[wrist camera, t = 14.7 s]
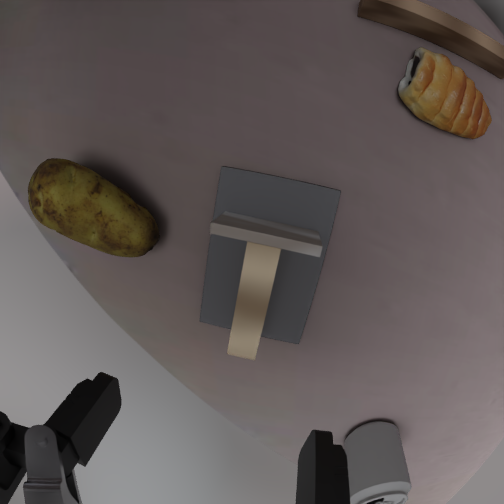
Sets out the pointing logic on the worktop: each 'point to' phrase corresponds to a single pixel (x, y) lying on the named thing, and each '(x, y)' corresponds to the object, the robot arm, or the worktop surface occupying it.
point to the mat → (290, 263)
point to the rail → (437, 30)
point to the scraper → (259, 271)
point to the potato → (90, 209)
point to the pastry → (443, 95)
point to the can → (377, 465)
